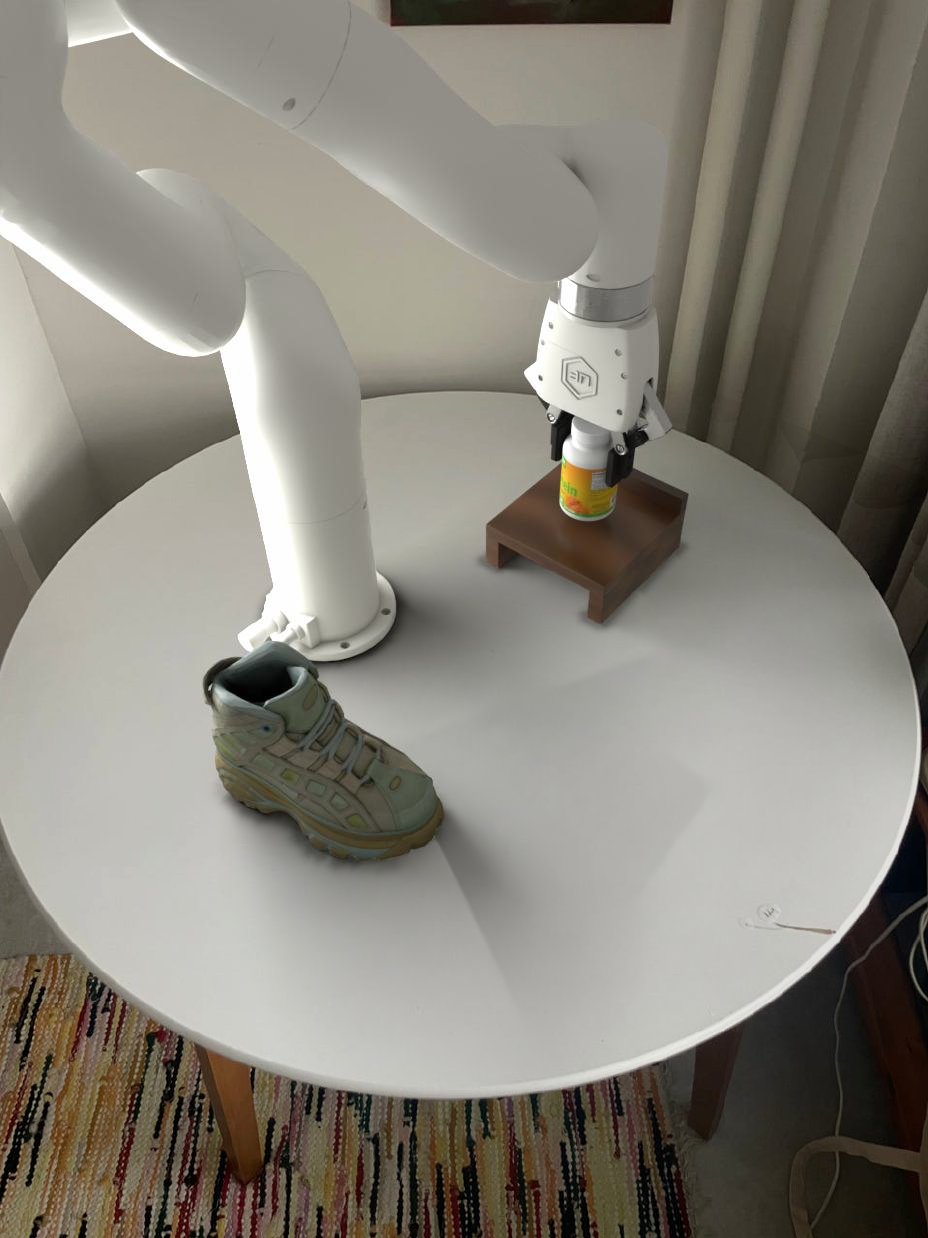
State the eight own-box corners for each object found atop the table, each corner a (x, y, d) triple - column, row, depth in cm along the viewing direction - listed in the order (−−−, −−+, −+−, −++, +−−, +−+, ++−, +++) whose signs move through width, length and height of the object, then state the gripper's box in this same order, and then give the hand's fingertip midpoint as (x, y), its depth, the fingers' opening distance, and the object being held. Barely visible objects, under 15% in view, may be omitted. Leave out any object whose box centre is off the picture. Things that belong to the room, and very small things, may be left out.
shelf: (600, 625, 97) (606, 571, 92) (485, 561, 103) (485, 508, 98) (679, 546, 104) (688, 493, 99) (567, 491, 111) (571, 438, 106)
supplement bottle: (549, 495, 100) (553, 412, 93) (598, 481, 102) (606, 398, 95) (575, 529, 97) (581, 445, 90) (625, 513, 98) (635, 430, 91)
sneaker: (373, 915, 77) (364, 786, 67) (197, 789, 85) (166, 659, 75) (461, 822, 83) (464, 693, 73) (290, 715, 92) (272, 586, 82)
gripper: (493, 273, 85) (493, 451, 98) (671, 342, 77) (645, 525, 90) (547, 239, 89) (540, 414, 102) (722, 302, 81) (690, 482, 94)
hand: (590, 464), depth 96 cm, fingers closed on supplement bottle, 5 cm apart
